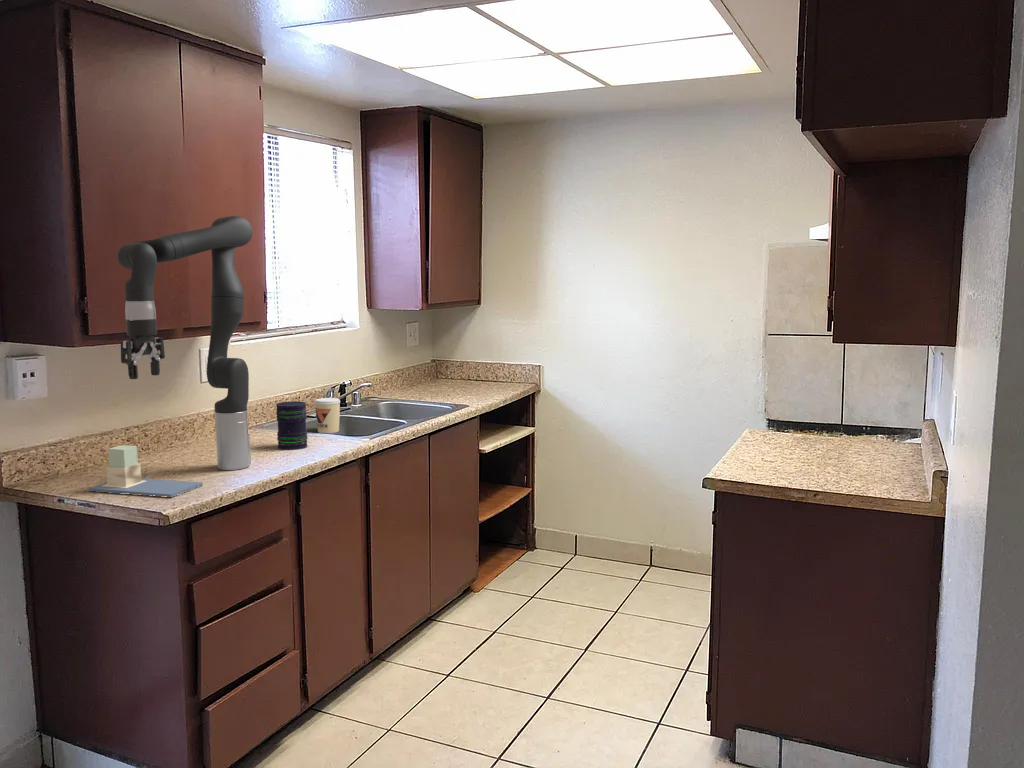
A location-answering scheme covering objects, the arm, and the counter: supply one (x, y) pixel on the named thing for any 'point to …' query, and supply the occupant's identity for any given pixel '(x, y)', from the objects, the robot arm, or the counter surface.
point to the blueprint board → (150, 487)
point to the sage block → (123, 456)
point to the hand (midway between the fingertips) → (144, 377)
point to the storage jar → (291, 425)
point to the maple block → (123, 475)
